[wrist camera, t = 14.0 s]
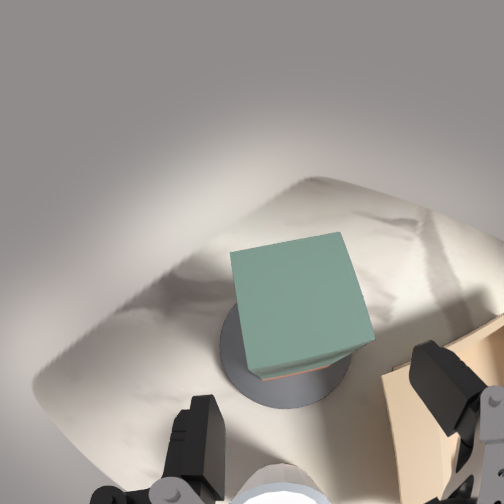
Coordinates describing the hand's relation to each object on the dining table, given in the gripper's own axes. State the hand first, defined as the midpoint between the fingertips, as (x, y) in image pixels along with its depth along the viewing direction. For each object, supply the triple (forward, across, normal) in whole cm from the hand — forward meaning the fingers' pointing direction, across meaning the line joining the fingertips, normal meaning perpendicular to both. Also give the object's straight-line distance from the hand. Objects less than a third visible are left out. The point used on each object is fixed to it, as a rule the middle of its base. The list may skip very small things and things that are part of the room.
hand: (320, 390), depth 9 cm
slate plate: (+12, 0, +6) cm, 13 cm away
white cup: (+3, +3, +16) cm, 16 cm away
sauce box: (+11, 0, +6) cm, 12 cm away
